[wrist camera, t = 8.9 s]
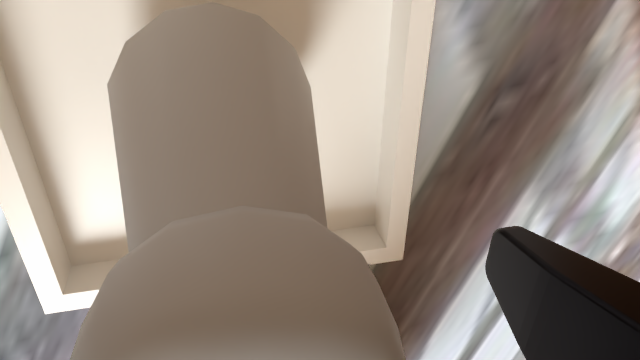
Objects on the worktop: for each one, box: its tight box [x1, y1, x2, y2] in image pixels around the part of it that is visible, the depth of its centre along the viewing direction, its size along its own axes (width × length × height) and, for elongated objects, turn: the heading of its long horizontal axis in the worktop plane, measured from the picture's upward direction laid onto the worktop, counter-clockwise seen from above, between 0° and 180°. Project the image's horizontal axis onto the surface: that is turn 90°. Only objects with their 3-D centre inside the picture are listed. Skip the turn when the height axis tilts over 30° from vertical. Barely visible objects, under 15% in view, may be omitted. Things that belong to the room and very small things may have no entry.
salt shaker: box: [70, 2, 406, 360], centre depth 11 cm, size 6×6×13 cm
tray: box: [0, 0, 436, 314], centre depth 16 cm, size 16×14×2 cm
